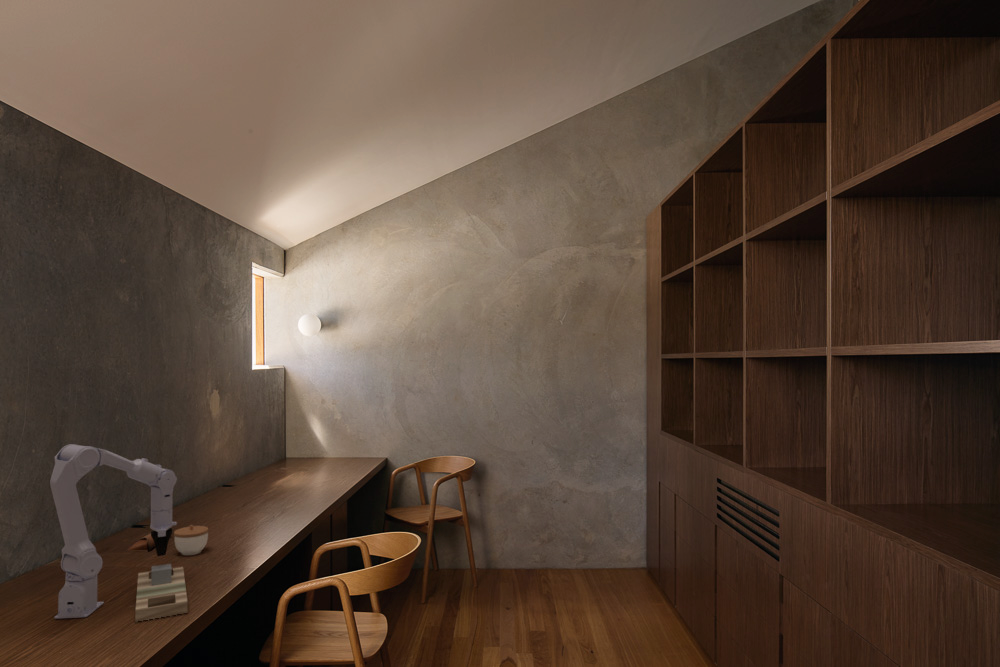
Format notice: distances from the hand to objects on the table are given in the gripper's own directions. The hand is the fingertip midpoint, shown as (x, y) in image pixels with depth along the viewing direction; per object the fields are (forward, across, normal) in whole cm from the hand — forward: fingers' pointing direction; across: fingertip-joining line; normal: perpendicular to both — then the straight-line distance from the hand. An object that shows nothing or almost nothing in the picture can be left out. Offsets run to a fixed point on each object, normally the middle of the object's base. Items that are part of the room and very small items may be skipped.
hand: (161, 555), depth 193 cm
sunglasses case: (+9, +47, +3) cm, 48 cm away
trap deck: (+8, -12, 0) cm, 14 cm away
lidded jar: (+9, +29, -9) cm, 32 cm away
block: (+6, -7, 0) cm, 9 cm away
